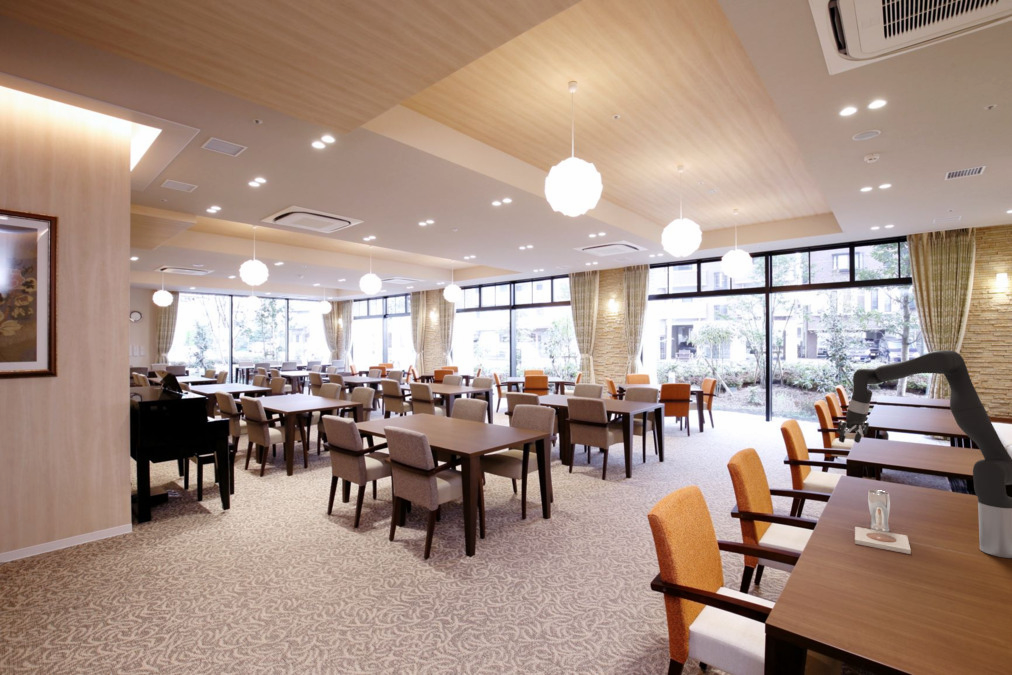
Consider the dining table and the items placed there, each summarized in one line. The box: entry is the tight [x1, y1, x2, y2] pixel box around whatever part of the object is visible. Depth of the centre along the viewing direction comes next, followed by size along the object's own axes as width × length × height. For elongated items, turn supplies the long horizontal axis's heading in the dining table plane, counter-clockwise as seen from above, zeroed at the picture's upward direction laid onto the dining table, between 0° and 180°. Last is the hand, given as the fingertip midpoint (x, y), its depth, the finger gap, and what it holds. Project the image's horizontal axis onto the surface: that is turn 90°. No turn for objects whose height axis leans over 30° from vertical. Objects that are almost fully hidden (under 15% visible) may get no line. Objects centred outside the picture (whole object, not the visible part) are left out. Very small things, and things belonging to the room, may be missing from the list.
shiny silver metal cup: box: [867, 489, 891, 533], centre depth 192 cm, size 7×7×15 cm
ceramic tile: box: [854, 526, 912, 555], centre depth 179 cm, size 16×16×2 cm
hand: (848, 442), depth 223 cm, fingers open, 8 cm apart
